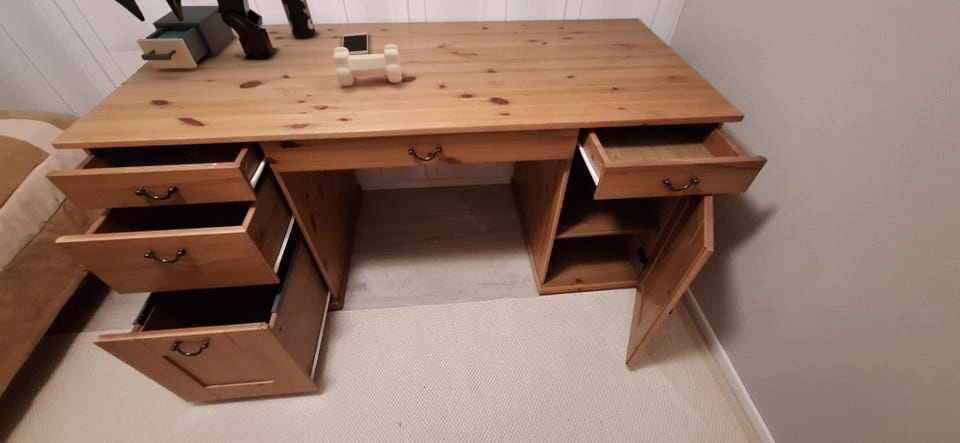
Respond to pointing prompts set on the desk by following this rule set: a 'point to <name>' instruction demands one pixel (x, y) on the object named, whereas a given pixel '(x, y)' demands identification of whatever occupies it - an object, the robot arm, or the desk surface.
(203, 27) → the cabinet
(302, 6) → the beverage can
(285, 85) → the desk surface
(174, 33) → the block
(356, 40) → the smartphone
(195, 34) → the drawer
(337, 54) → the bone shaped toy
